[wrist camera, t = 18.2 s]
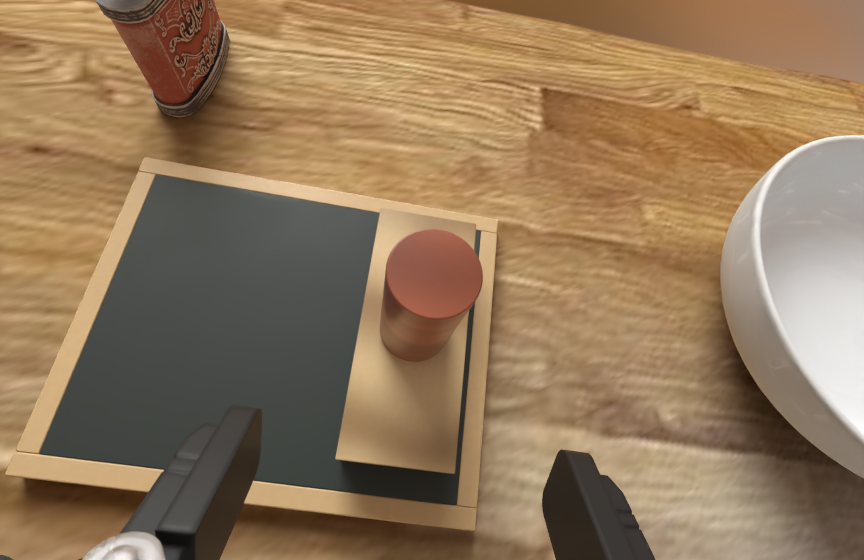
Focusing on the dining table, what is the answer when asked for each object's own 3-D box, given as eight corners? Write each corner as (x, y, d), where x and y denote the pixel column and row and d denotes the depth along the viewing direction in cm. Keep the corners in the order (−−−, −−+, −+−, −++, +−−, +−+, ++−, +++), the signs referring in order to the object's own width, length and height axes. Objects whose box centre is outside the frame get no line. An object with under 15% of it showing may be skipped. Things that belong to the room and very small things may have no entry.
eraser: (442, 471, 22) (499, 482, 13) (339, 459, 22) (319, 460, 12) (463, 251, 27) (517, 137, 17) (378, 238, 26) (386, 113, 17)
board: (22, 474, 21) (3, 475, 20) (153, 168, 27) (144, 156, 26) (470, 528, 22) (475, 531, 21) (493, 228, 29) (498, 219, 28)
